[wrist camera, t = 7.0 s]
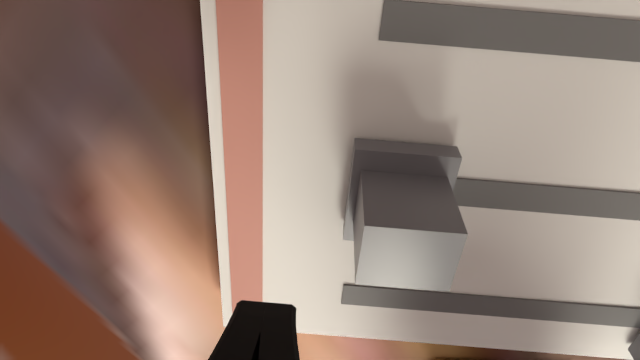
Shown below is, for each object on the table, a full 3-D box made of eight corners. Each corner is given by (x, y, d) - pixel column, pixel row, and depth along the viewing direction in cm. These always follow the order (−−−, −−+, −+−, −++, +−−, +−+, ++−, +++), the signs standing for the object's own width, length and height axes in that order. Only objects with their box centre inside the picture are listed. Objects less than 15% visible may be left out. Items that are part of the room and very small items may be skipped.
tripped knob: (433, 234, 18) (452, 309, 15) (342, 226, 18) (343, 300, 15) (457, 146, 16) (485, 213, 13) (354, 138, 16) (357, 202, 13)
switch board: (732, 343, 23) (755, 371, 22) (229, 302, 23) (223, 328, 22) (1081, -40, 13) (1162, -31, 12) (205, -115, 13) (190, -114, 12)
